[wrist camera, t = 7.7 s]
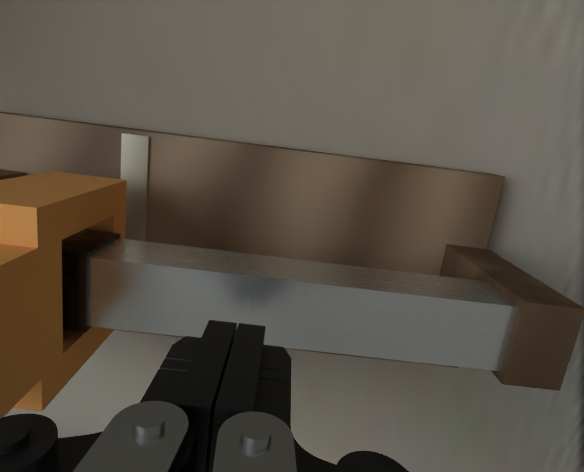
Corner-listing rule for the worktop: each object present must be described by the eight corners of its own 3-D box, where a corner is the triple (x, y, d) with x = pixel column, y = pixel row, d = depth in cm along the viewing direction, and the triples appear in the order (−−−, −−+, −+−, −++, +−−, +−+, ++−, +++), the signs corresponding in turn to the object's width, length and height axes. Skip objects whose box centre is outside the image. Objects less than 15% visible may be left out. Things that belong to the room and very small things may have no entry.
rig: (489, 173, 21) (680, 215, 11) (447, 352, 23) (568, 526, 13) (0, 111, 20) (-299, 93, 10) (9, 304, 22) (-223, 448, 12)
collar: (126, 180, 17) (-103, 250, 7) (122, 319, 18) (-70, 538, 9) (51, 171, 17) (-288, 230, 7) (54, 311, 18) (-220, 524, 8)
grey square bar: (484, 276, 16) (521, 304, 14) (468, 339, 17) (501, 377, 14) (-43, 214, 15) (-110, 231, 13) (-37, 282, 16) (-101, 311, 14)
